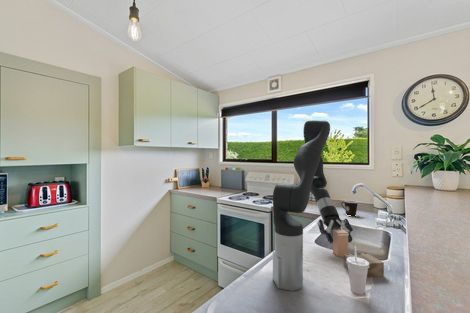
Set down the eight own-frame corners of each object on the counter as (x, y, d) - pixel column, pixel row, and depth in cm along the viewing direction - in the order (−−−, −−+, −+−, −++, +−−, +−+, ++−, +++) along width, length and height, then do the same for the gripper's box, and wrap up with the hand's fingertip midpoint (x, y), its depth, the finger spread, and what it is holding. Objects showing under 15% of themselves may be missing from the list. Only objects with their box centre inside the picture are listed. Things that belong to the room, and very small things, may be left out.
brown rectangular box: (357, 278, 77) (357, 263, 77) (343, 267, 85) (343, 253, 85) (383, 276, 79) (383, 262, 79) (367, 265, 87) (367, 252, 87)
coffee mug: (360, 217, 157) (360, 203, 157) (347, 217, 157) (347, 202, 157) (351, 212, 169) (351, 199, 169) (340, 212, 169) (340, 199, 169)
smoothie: (348, 283, 74) (348, 241, 74) (370, 290, 70) (371, 246, 70) (343, 292, 70) (344, 247, 70) (367, 300, 65) (367, 253, 65)
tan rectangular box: (338, 256, 94) (338, 233, 94) (332, 252, 98) (332, 229, 98) (348, 256, 94) (348, 232, 94) (342, 252, 98) (342, 229, 98)
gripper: (315, 205, 104) (329, 238, 92) (344, 204, 105) (360, 237, 94) (310, 213, 109) (322, 246, 97) (338, 213, 110) (352, 245, 99)
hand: (341, 242), depth 96 cm, fingers open, 8 cm apart
